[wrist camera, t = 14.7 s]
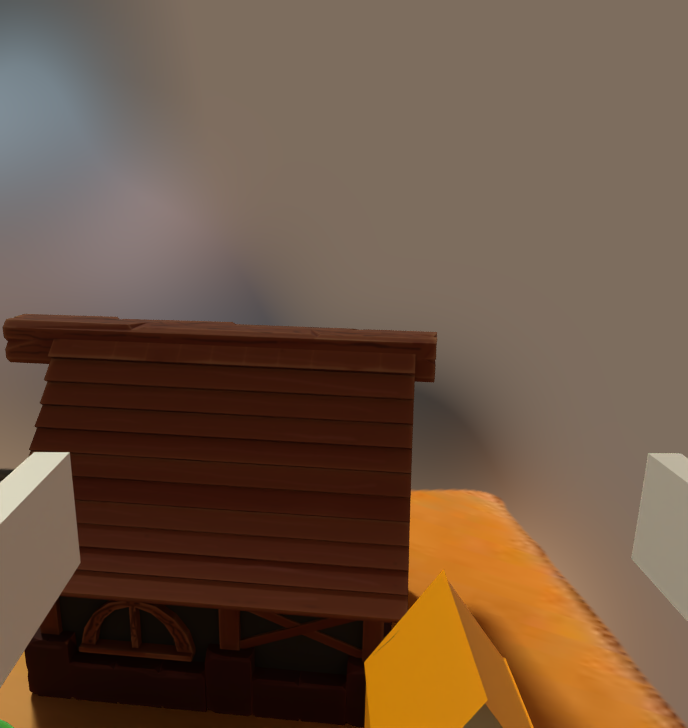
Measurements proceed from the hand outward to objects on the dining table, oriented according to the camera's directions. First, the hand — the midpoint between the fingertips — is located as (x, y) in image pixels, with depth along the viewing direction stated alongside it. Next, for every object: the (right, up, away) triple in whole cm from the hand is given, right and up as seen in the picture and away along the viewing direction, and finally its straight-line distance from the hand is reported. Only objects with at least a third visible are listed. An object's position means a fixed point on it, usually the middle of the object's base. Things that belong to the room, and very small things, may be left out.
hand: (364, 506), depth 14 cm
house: (-11, -22, +43) cm, 50 cm away
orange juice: (+4, -28, +19) cm, 34 cm away
